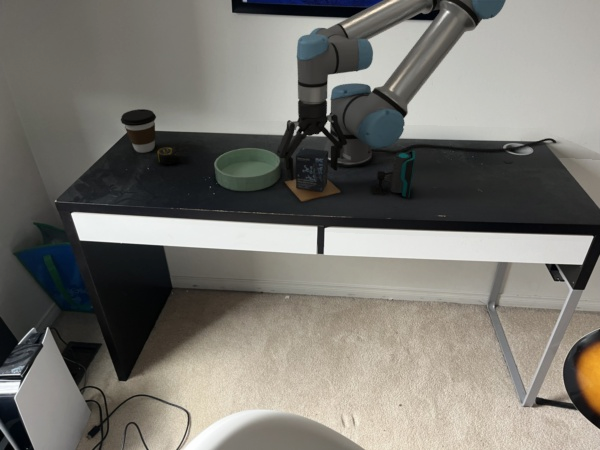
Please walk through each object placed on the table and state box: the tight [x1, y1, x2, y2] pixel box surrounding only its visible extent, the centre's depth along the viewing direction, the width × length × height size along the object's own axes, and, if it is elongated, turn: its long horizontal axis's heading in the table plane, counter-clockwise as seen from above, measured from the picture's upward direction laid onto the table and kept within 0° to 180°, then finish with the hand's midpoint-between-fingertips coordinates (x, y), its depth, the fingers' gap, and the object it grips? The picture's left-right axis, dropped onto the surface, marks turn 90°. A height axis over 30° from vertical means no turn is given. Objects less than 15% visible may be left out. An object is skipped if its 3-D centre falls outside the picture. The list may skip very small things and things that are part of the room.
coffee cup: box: [120, 108, 157, 154], centre depth 155 cm, size 11×11×12 cm
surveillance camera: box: [372, 150, 416, 199], centre depth 130 cm, size 6×12×10 cm
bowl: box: [213, 147, 281, 192], centre depth 141 cm, size 19×19×4 cm
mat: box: [284, 178, 341, 203], centre depth 135 cm, size 12×12×1 cm
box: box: [295, 146, 329, 192], centre depth 132 cm, size 8×6×11 cm
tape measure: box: [155, 146, 181, 165], centre depth 149 cm, size 7×7×4 cm
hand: (312, 173), depth 133 cm, fingers open, 13 cm apart
